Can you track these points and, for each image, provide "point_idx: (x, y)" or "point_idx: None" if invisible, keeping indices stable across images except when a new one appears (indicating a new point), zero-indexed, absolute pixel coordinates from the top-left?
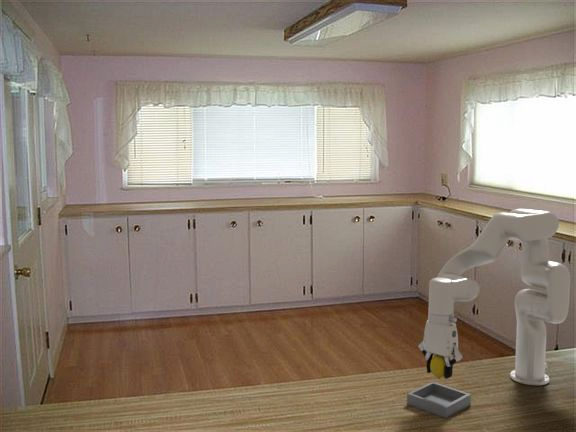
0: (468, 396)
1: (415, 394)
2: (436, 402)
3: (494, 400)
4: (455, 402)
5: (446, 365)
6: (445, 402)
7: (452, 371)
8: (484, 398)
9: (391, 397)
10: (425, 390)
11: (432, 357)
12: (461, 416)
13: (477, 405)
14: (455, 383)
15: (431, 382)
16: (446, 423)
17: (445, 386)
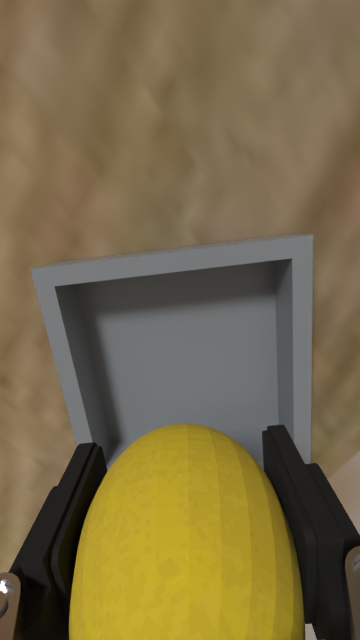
0: (310, 265)
1: (98, 438)
2: (173, 360)
3: (353, 48)
4: (310, 396)
5: (320, 619)
6: (199, 327)
7: (330, 485)
8: (294, 78)
9: (16, 449)
10: (80, 356)
11: (37, 628)
12: (322, 367)
13: (315, 206)
14: (31, 20)
15: (38, 285)
16: (312, 455)
17: (133, 266)
